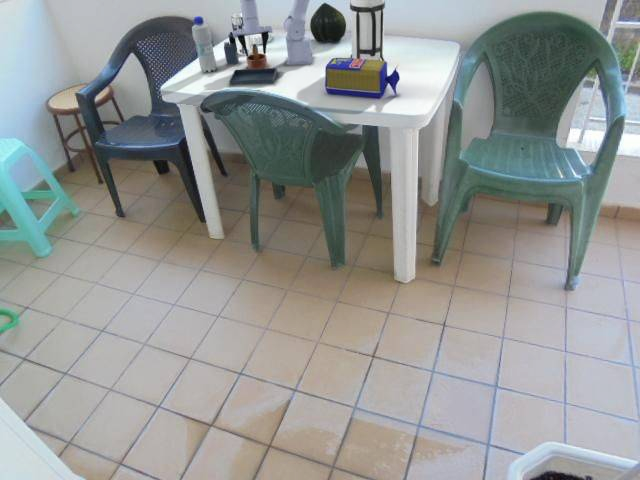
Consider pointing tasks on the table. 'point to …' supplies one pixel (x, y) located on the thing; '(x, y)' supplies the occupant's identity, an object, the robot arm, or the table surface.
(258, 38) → the mooncake
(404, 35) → the table surface
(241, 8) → the robot arm
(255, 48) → the marker
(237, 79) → the tray
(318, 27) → the squash
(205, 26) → the bottle
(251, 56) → the pen cup
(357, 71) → the bread
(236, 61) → the vaping device
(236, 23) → the beer glass
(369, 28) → the coffee press
